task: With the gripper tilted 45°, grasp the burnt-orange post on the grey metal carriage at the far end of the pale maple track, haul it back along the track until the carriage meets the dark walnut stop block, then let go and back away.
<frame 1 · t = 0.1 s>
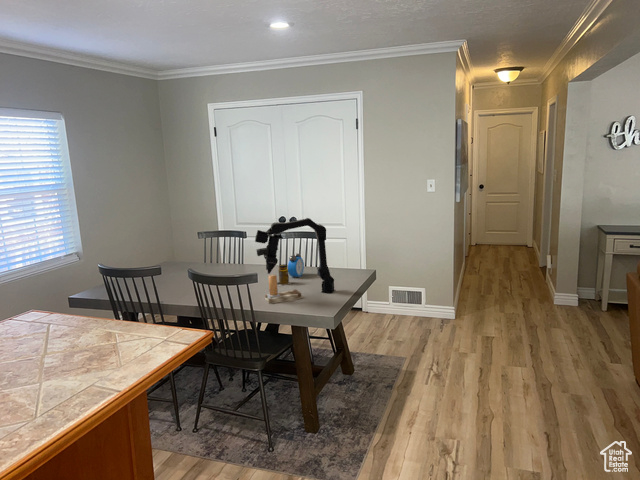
hand: (267, 271, 264), 15 cm above the table, tool pointing down, fingers open, 9 cm apart
track: (283, 298, 264), on the table
alarm clock: (296, 276, 311), on the table
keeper: (273, 287, 260), point 8 cm above the table, slide at 9.5 cm
condiment: (282, 283, 296), on the table
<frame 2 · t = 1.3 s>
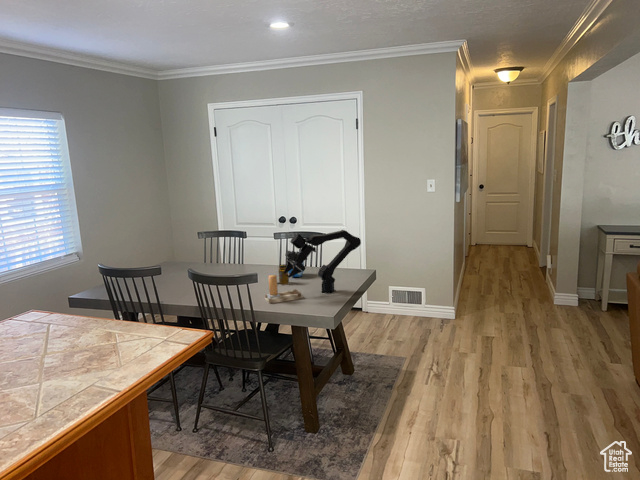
hand: (286, 275, 262), 13 cm above the table, tool tilted 45°, fingers open, 9 cm apart
nothing on the table moved.
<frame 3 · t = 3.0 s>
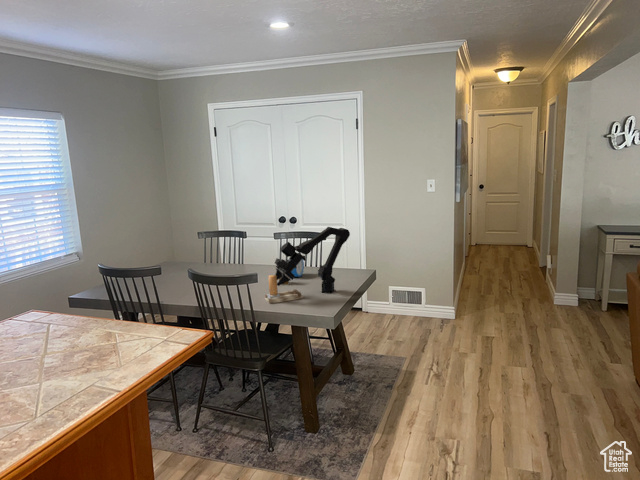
hand: (275, 283, 260), 10 cm above the table, tool tilted 45°, fingers open, 9 cm apart
nothing on the table moved.
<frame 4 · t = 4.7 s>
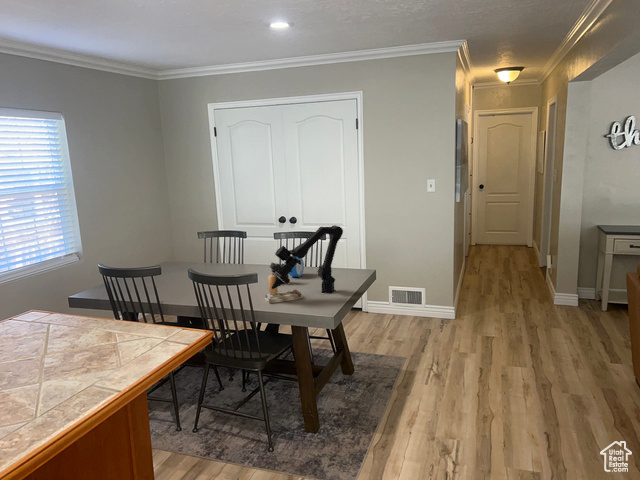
hand: (270, 287, 260), 8 cm above the table, tool tilted 45°, fingers closed on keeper, 4 cm apart
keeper: (273, 287, 260), point 8 cm above the table, slide at 9.5 cm, touching gripper
everything else where it was.
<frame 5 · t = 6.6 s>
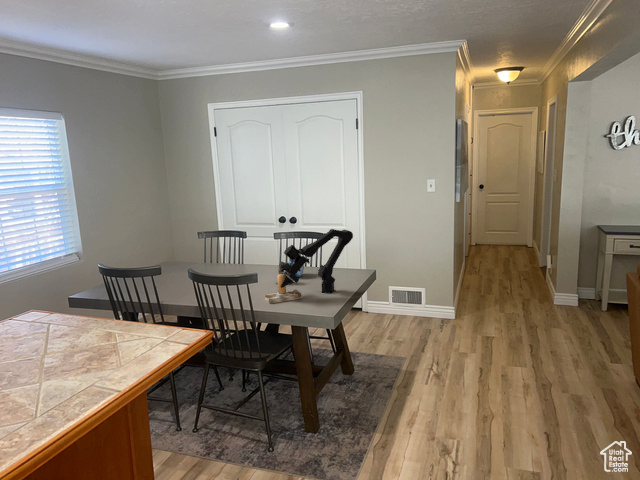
hand: (279, 286, 261), 8 cm above the table, tool tilted 45°, fingers closed on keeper, 4 cm apart
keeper: (282, 285, 262), point 8 cm above the table, slide at 4.4 cm, touching gripper
everything else where it was.
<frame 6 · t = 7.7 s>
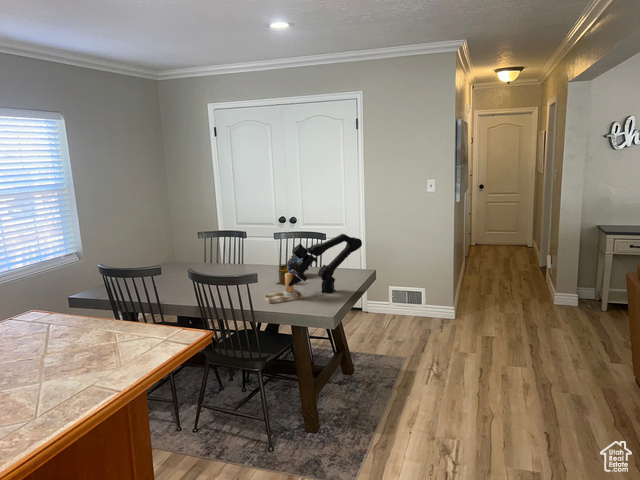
hand: (287, 285, 263), 8 cm above the table, tool tilted 45°, fingers closed on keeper, 4 cm apart
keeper: (289, 284, 263), point 8 cm above the table, slide at 0.0 cm, touching gripper
everything else where it was.
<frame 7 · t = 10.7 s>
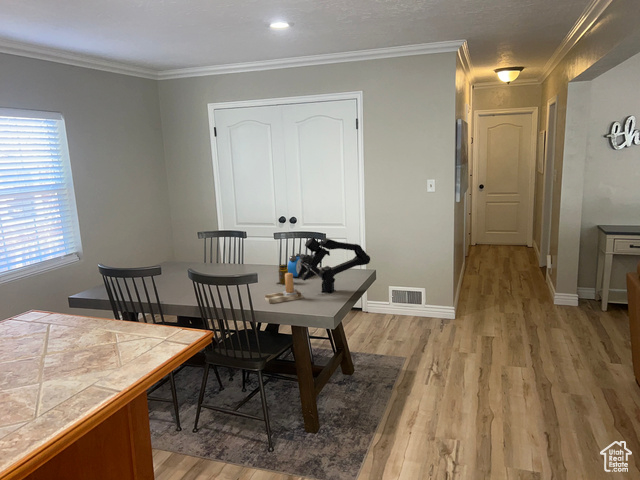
hand: (300, 278, 265), 10 cm above the table, tool tilted 45°, fingers open, 9 cm apart
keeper: (289, 284, 263), point 8 cm above the table, slide at 0.0 cm
everything else where it was.
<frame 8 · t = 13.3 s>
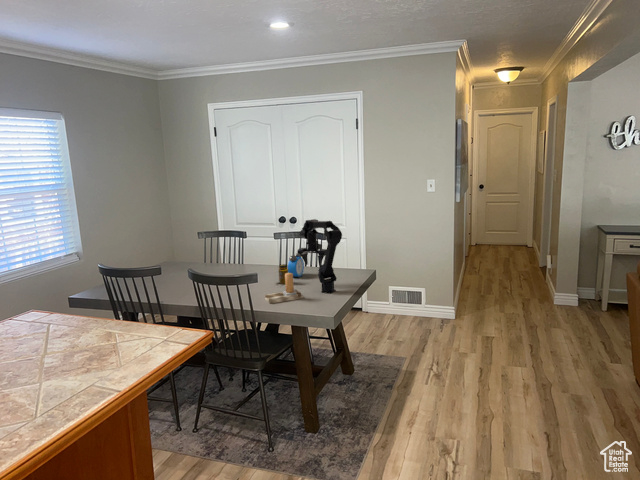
hand: (313, 265, 284), 13 cm above the table, tool pointing down, fingers open, 9 cm apart
nothing on the table moved.
at the end: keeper slide at 0.0 cm; the gripper is holding nothing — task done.
